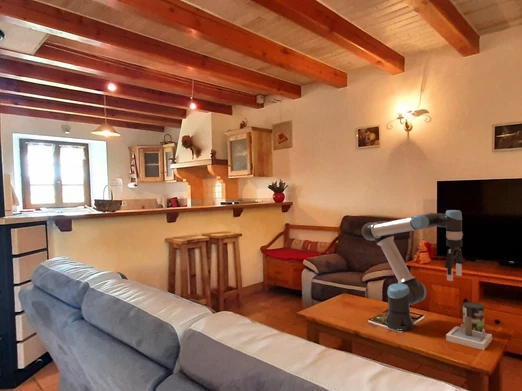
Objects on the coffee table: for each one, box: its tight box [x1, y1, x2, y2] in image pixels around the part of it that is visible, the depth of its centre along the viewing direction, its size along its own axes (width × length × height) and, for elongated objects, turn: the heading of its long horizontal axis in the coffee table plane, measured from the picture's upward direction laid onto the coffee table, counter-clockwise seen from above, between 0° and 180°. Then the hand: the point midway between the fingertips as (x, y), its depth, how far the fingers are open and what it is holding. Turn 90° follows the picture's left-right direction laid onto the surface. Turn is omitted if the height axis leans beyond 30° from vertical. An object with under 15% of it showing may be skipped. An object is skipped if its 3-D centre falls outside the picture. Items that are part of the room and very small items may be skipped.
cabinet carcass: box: [445, 323, 493, 351], centre depth 180 cm, size 17×15×5 cm
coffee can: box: [462, 301, 486, 332], centre depth 193 cm, size 10×10×14 cm
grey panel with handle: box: [453, 317, 485, 342], centre depth 180 cm, size 12×10×11 cm
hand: (454, 278), depth 188 cm, fingers open, 13 cm apart
